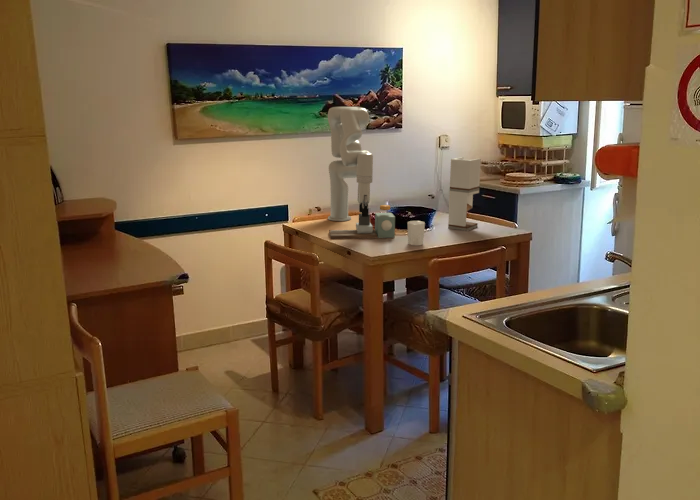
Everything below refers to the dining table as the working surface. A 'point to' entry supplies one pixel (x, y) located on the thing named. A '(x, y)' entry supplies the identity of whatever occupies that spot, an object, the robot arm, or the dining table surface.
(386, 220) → the pale green block
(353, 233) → the rail board
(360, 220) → the carriage
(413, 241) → the white cup
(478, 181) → the coffee grinder
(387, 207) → the button
